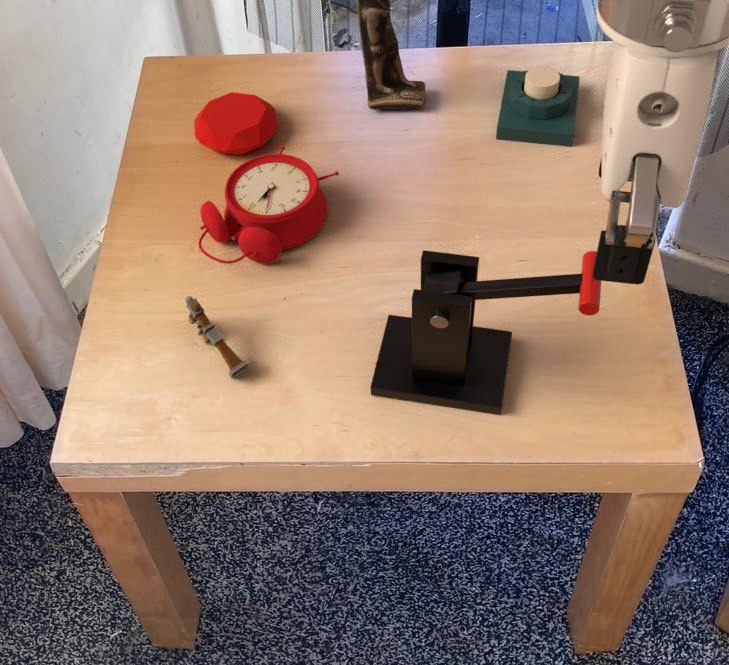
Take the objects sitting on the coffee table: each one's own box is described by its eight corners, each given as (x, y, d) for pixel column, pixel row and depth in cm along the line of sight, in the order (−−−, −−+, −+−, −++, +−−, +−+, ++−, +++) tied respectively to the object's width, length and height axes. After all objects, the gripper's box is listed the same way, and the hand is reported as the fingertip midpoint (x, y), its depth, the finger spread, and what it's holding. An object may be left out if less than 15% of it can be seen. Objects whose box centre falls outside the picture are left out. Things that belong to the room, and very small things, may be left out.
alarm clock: (353, 170, 84) (252, 236, 75) (348, 222, 88) (252, 291, 79) (272, 133, 88) (166, 191, 79) (271, 185, 92) (171, 246, 83)
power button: (559, 81, 92) (561, 67, 91) (556, 101, 90) (558, 88, 88) (525, 78, 93) (527, 64, 91) (522, 98, 90) (523, 85, 89)
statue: (425, 113, 95) (427, -62, 79) (362, 115, 95) (351, -59, 79) (425, 90, 97) (426, -84, 81) (363, 91, 98) (352, -82, 82)
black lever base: (511, 339, 75) (524, 247, 66) (500, 415, 71) (513, 328, 61) (388, 322, 77) (385, 231, 68) (370, 395, 72) (363, 308, 63)
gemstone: (196, 114, 96) (190, 92, 94) (274, 103, 97) (271, 81, 95) (199, 166, 91) (193, 144, 89) (282, 155, 92) (278, 132, 89)
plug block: (577, 88, 96) (582, 62, 93) (571, 146, 90) (576, 120, 87) (506, 82, 97) (508, 55, 95) (495, 139, 91) (498, 112, 89)
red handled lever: (604, 267, 64) (600, 245, 62) (601, 319, 61) (597, 297, 59) (437, 280, 69) (429, 259, 67) (427, 328, 66) (418, 308, 64)
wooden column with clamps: (194, 305, 78) (195, 288, 74) (245, 375, 77) (250, 361, 73) (177, 316, 77) (178, 298, 73) (228, 386, 76) (232, 372, 72)
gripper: (762, 99, 39) (678, 331, 52) (739, -87, 49) (675, 147, 62) (592, 88, 40) (554, 317, 53) (605, -91, 50) (570, 139, 64)
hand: (619, 225), depth 58 cm, fingers open, 9 cm apart
